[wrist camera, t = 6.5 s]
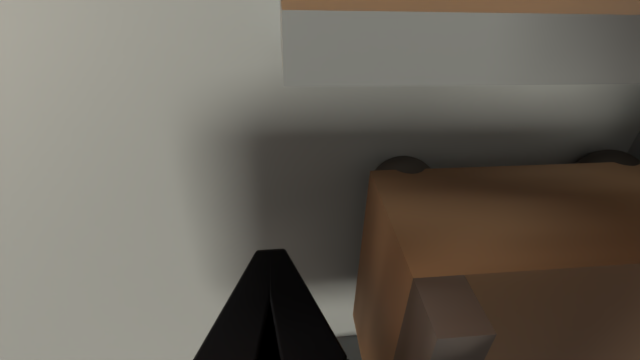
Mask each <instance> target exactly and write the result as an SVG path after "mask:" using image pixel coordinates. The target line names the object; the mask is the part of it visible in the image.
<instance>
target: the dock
mask: <svg viewBox="0 0 640 360" xmlns="http://www.w3.org/2000/svg"><path fill="white" fill-rule="evenodd" d="M607 149H610V150H619V151H623V152H626V153H629V154H631V155H633V156H634V157H636V158H637V159H639V160H640V0H0V360H193V359H194V357H195V355H196V353H197V352H198V350H199V348H200V346H201V345H202V343H203V341H204V340H205V338H206V336H207V334H208V333H209V331H210V329H211V327H212V326H213V324H214V322H215V321H216V319H217V317H218V315H219V314H220V312H221V310H222V308H223V307H224V305H225V303H226V302H227V300H228V298H229V296H230V295H231V293H232V291H233V289H234V288H235V286H236V284H237V283H238V281H239V279H240V277H241V276H242V274H243V272H244V270H245V269H246V267H247V265H248V264H249V262H250V260H251V258H252V257H253V255H254V253H255V252H256V251H257V250H265V249H282V248H283V249H285V250H286V251H287V253H288V254H289V256H290V258H291V260H292V261H293V263H294V265H295V266H296V268H297V270H298V272H299V273H300V275H301V277H302V279H303V280H304V282H305V284H306V286H307V287H308V289H309V291H310V292H311V294H312V296H313V298H314V299H315V301H316V303H317V305H318V306H319V308H320V310H321V312H322V313H323V315H324V317H325V318H326V320H327V322H328V324H329V325H330V327H331V329H332V331H333V332H334V334H335V336H336V338H337V339H338V341H339V343H340V344H341V346H342V348H343V350H344V351H345V353H346V355H347V359H349V360H362V358H361V353H360V348H359V343H358V338H357V334H356V329H355V324H354V319H353V309H354V300H355V292H356V284H357V275H358V267H359V259H360V250H361V242H362V234H363V225H364V217H365V209H366V201H367V192H368V184H369V176H370V171H374V170H375V169H376V168H377V167H378V166H379V165H380V164H381V163H383V162H384V161H386V160H388V159H390V158H393V157H397V156H411V157H415V158H417V159H419V160H421V161H423V162H424V163H426V164H427V165H428V166H429V167H430V168H431V169H432V168H461V167H490V166H519V165H548V164H575V163H576V162H577V161H578V160H579V159H580V158H582V157H583V156H585V155H587V154H589V153H591V152H595V151H598V150H607Z"/></svg>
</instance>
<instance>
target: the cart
mask: <svg viewBox="0 0 640 360" xmlns="http://www.w3.org/2000/svg"><path fill="white" fill-rule="evenodd" d="M353 319H354V324H355V329H356V334H357V338H358V343H359V348H360V353H361V358H362V360H640V160H639V159H637V158H636V157H634V156H633V155H631V154H629V153H626V152H623V151H619V150H610V149H607V150H598V151H595V152H591V153H589V154H587V155H585V156H583V157H582V158H580V159H579V160H578V161H577V162H576V163H575V164H548V165H519V166H490V167H461V168H432V169H431V168H430V167H429V166H428V165H427V164H426V163H424V162H423V161H421V160H419V159H417V158H415V157H411V156H397V157H393V158H390V159H388V160H386V161H384V162H383V163H381V164H380V165H379V166H378V167H377V168H376V169H375V170H374V171H370V176H369V184H368V192H367V201H366V209H365V217H364V225H363V234H362V242H361V250H360V259H359V267H358V275H357V284H356V292H355V300H354V309H353Z"/></svg>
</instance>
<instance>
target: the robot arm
mask: <svg viewBox="0 0 640 360" xmlns="http://www.w3.org/2000/svg"><path fill="white" fill-rule="evenodd" d="M193 360H349V359H347V355H346V353H345V351H344V350H343V348H342V346H341V344H340V343H339V341H338V339H337V338H336V336H335V334H334V332H333V331H332V329H331V327H330V325H329V324H328V322H327V320H326V318H325V317H324V315H323V313H322V312H321V310H320V308H319V306H318V305H317V303H316V301H315V299H314V298H313V296H312V294H311V292H310V291H309V289H308V287H307V286H306V284H305V282H304V280H303V279H302V277H301V275H300V273H299V272H298V270H297V268H296V266H295V265H294V263H293V261H292V260H291V258H290V256H289V254H288V253H287V251H286V250H285V249H283V248H282V249H265V250H257V251H256V252H255V253H254V255H253V257H252V258H251V260H250V262H249V264H248V265H247V267H246V269H245V270H244V272H243V274H242V276H241V277H240V279H239V281H238V283H237V284H236V286H235V288H234V289H233V291H232V293H231V295H230V296H229V298H228V300H227V302H226V303H225V305H224V307H223V308H222V310H221V312H220V314H219V315H218V317H217V319H216V321H215V322H214V324H213V326H212V327H211V329H210V331H209V333H208V334H207V336H206V338H205V340H204V341H203V343H202V345H201V346H200V348H199V350H198V352H197V353H196V355H195V357H194V359H193Z"/></svg>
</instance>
